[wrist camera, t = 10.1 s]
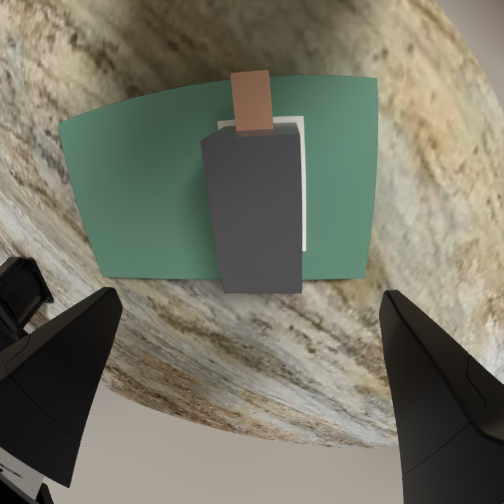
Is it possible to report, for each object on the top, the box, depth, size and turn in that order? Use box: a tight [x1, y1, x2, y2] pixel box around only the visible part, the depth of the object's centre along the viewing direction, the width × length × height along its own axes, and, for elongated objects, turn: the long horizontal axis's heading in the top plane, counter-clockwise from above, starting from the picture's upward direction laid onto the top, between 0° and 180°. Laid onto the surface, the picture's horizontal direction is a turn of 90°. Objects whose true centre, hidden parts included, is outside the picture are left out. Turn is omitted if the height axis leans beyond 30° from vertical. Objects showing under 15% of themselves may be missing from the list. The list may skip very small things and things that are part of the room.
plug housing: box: [200, 70, 302, 294], centre depth 15 cm, size 11×4×5 cm, turn 5°
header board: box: [58, 75, 378, 280], centre depth 18 cm, size 14×22×4 cm, turn 95°
